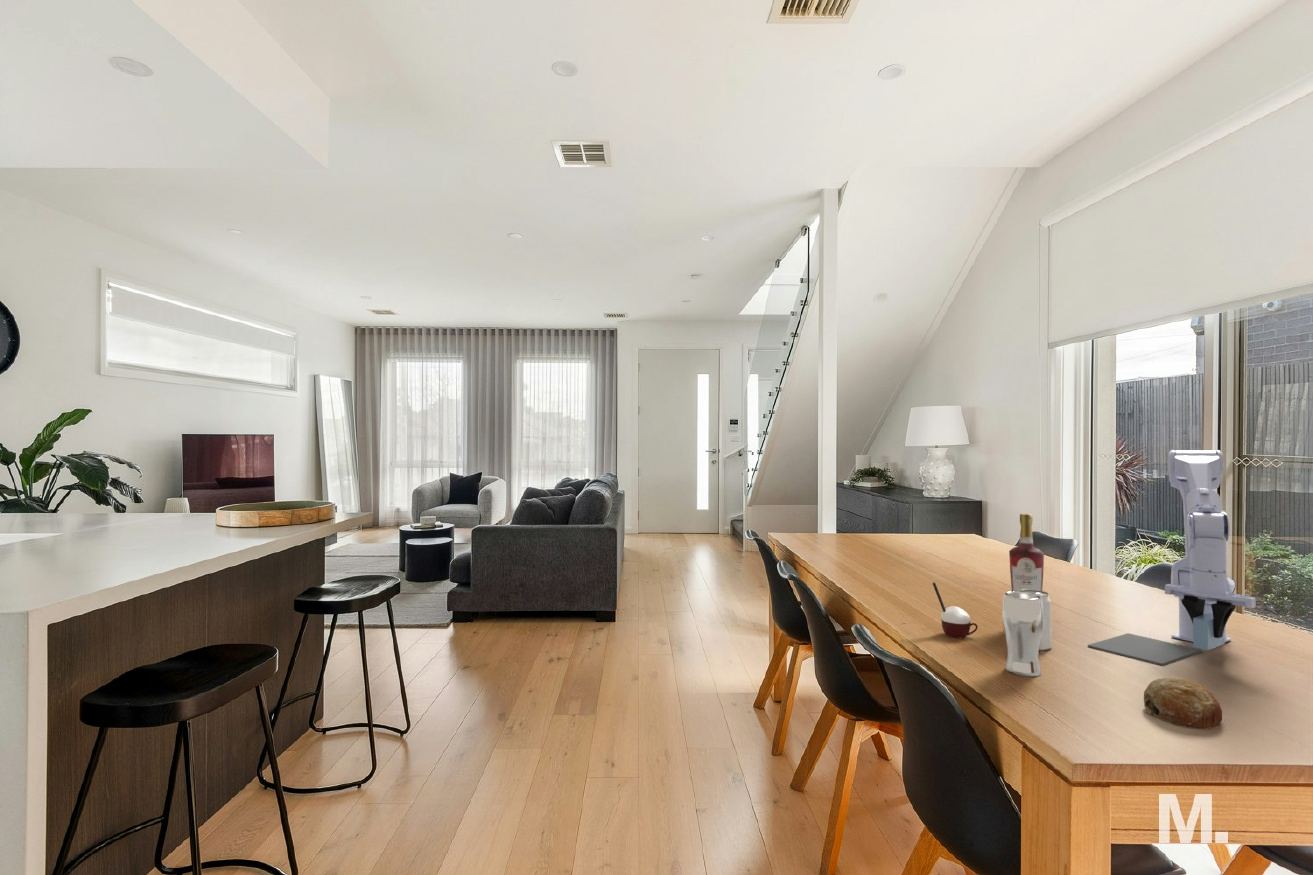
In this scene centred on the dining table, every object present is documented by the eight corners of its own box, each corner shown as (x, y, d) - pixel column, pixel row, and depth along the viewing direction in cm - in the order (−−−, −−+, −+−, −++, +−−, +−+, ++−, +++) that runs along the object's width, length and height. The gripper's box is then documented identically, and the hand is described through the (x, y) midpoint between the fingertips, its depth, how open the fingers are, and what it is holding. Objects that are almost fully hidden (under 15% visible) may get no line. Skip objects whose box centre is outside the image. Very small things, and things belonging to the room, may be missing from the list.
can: (1056, 651, 137) (1056, 596, 137) (1023, 649, 138) (1023, 594, 139) (1044, 642, 143) (1044, 589, 144) (1013, 640, 145) (1012, 588, 145)
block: (1209, 640, 136) (1209, 612, 136) (1224, 643, 133) (1224, 615, 133) (1192, 646, 132) (1192, 617, 132) (1207, 650, 129) (1207, 620, 129)
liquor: (1045, 628, 154) (1044, 513, 155) (1044, 636, 148) (1043, 516, 149) (1010, 624, 158) (1009, 512, 159) (1008, 631, 152) (1007, 514, 153)
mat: (1128, 634, 150) (1128, 633, 150) (1201, 651, 137) (1201, 649, 137) (1087, 646, 141) (1087, 644, 141) (1162, 665, 128) (1162, 663, 129)
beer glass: (1038, 667, 127) (1038, 592, 127) (1047, 679, 121) (1047, 600, 121) (999, 663, 130) (999, 590, 130) (1006, 675, 123) (1006, 597, 123)
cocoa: (979, 638, 148) (982, 587, 148) (967, 643, 144) (970, 590, 144) (939, 628, 155) (941, 579, 155) (927, 632, 151) (929, 581, 151)
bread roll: (1138, 725, 109) (1119, 684, 109) (1188, 698, 110) (1169, 657, 110) (1192, 753, 99) (1171, 707, 99) (1246, 723, 100) (1225, 677, 100)
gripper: (1157, 566, 137) (1158, 629, 137) (1245, 578, 124) (1246, 647, 124) (1173, 563, 140) (1173, 624, 140) (1259, 574, 128) (1260, 642, 128)
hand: (1208, 635), depth 132 cm, fingers closed on block, 2 cm apart
